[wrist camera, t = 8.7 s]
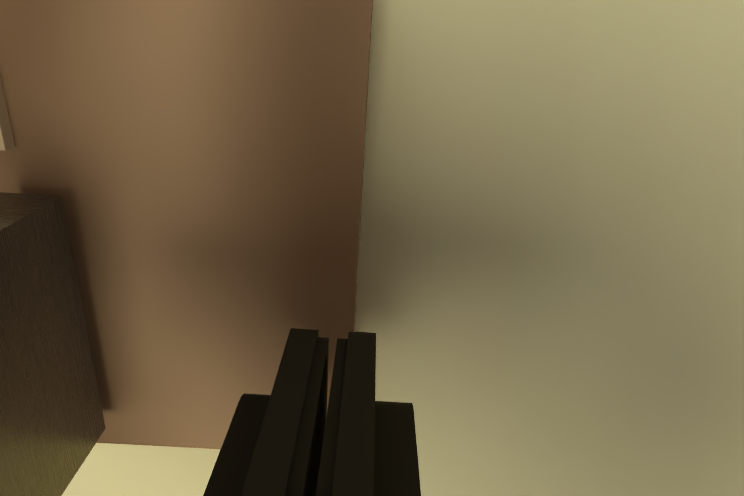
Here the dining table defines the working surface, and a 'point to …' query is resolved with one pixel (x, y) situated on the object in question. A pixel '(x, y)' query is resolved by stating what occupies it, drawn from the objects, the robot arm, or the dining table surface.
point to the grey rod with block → (42, 352)
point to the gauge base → (193, 188)
